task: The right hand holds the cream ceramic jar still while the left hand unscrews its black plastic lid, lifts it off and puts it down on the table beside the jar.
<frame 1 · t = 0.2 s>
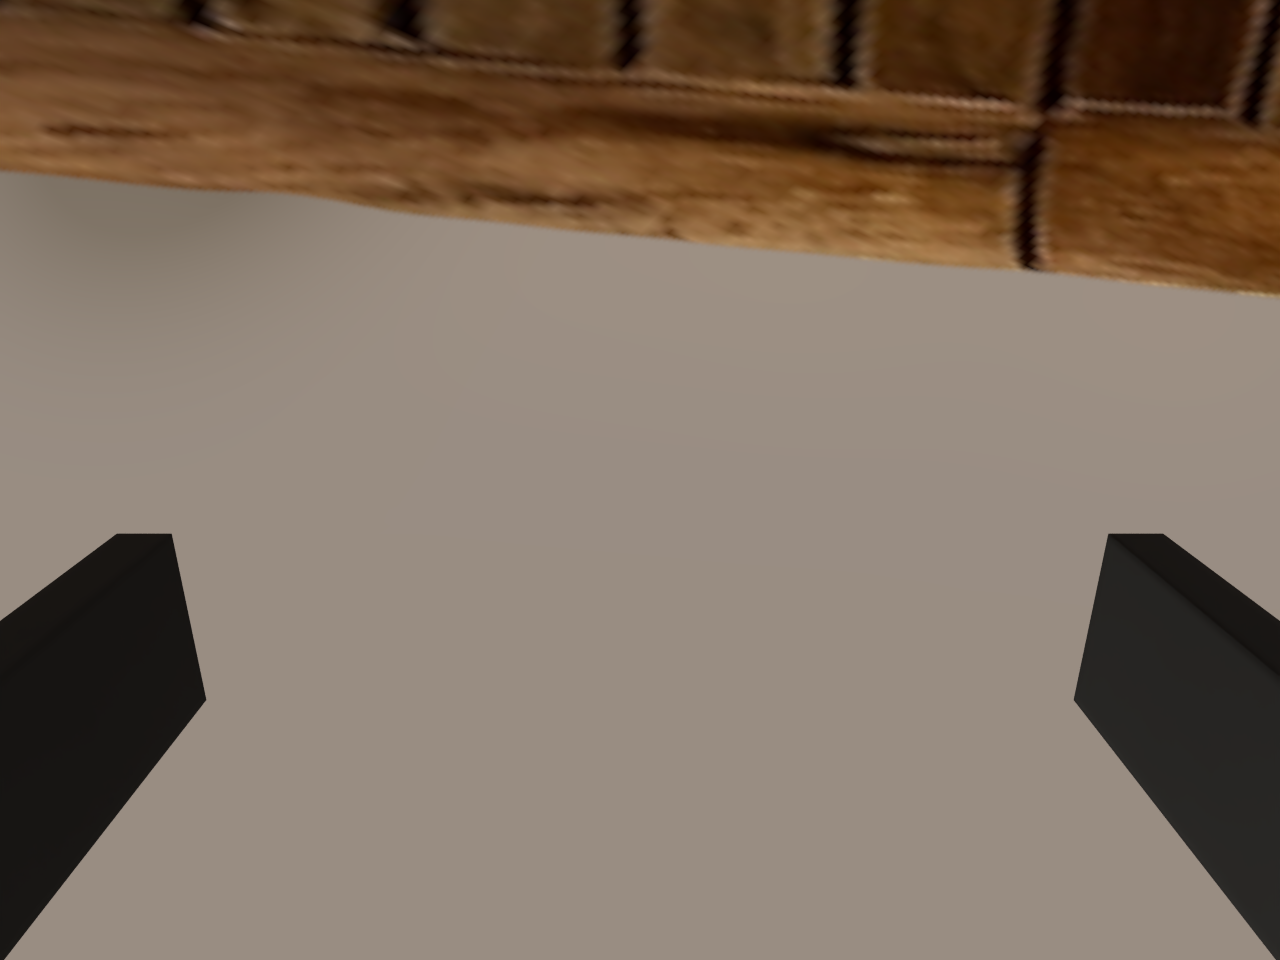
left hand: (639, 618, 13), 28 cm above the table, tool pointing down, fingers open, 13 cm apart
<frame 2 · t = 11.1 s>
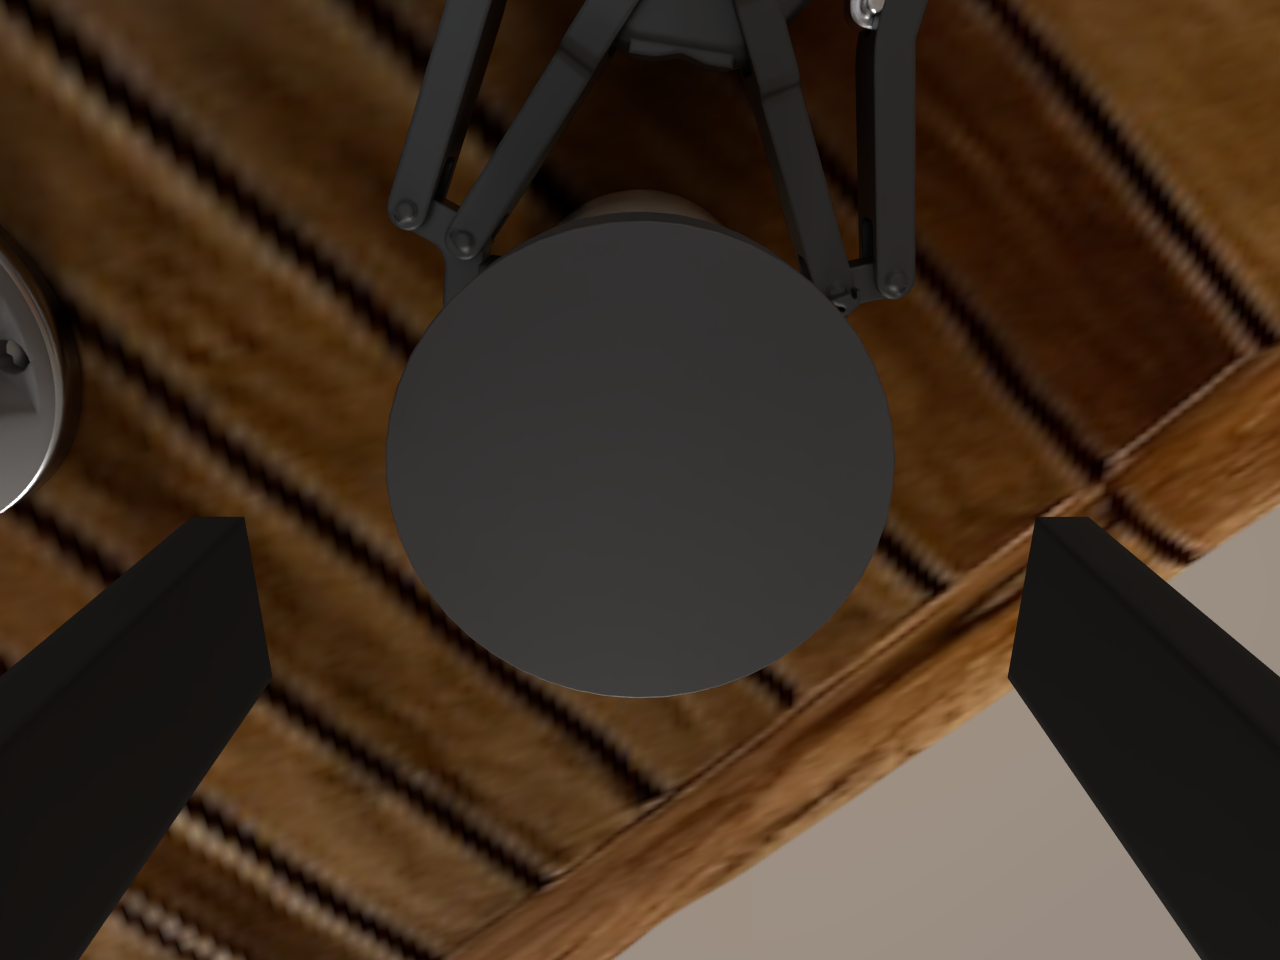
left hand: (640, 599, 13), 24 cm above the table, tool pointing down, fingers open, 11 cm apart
lid: (640, 478, 18), point 19 cm above the table, screwed on, not yet turned
jar: (639, 309, 36), on the table, touching right hand
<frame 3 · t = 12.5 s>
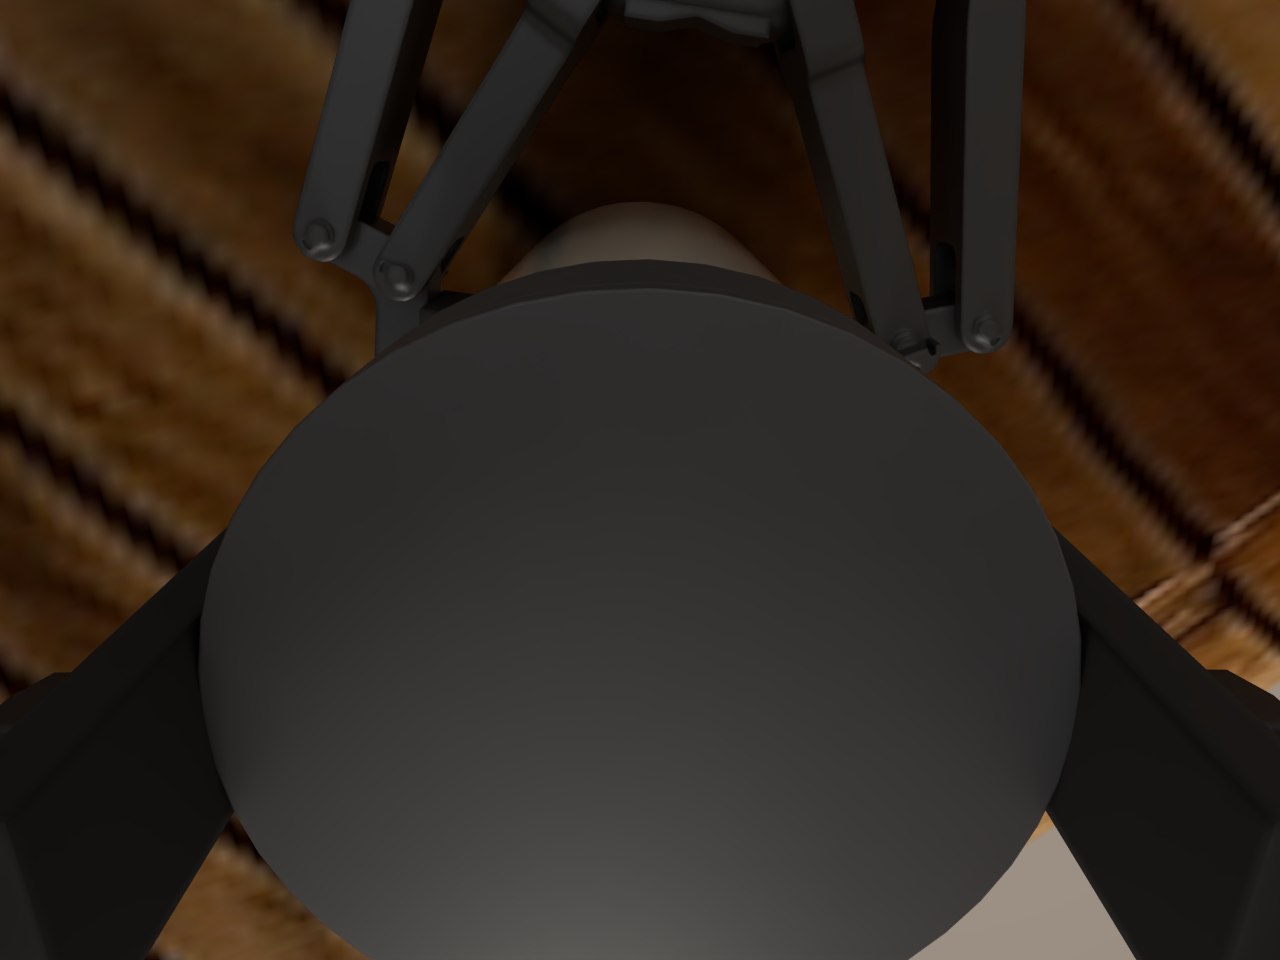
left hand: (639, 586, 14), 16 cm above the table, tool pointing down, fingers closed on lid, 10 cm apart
lid: (639, 711, 11), point 19 cm above the table, screwed on, not yet turned, touching left hand
jar: (639, 351, 29), on the table, touching right hand
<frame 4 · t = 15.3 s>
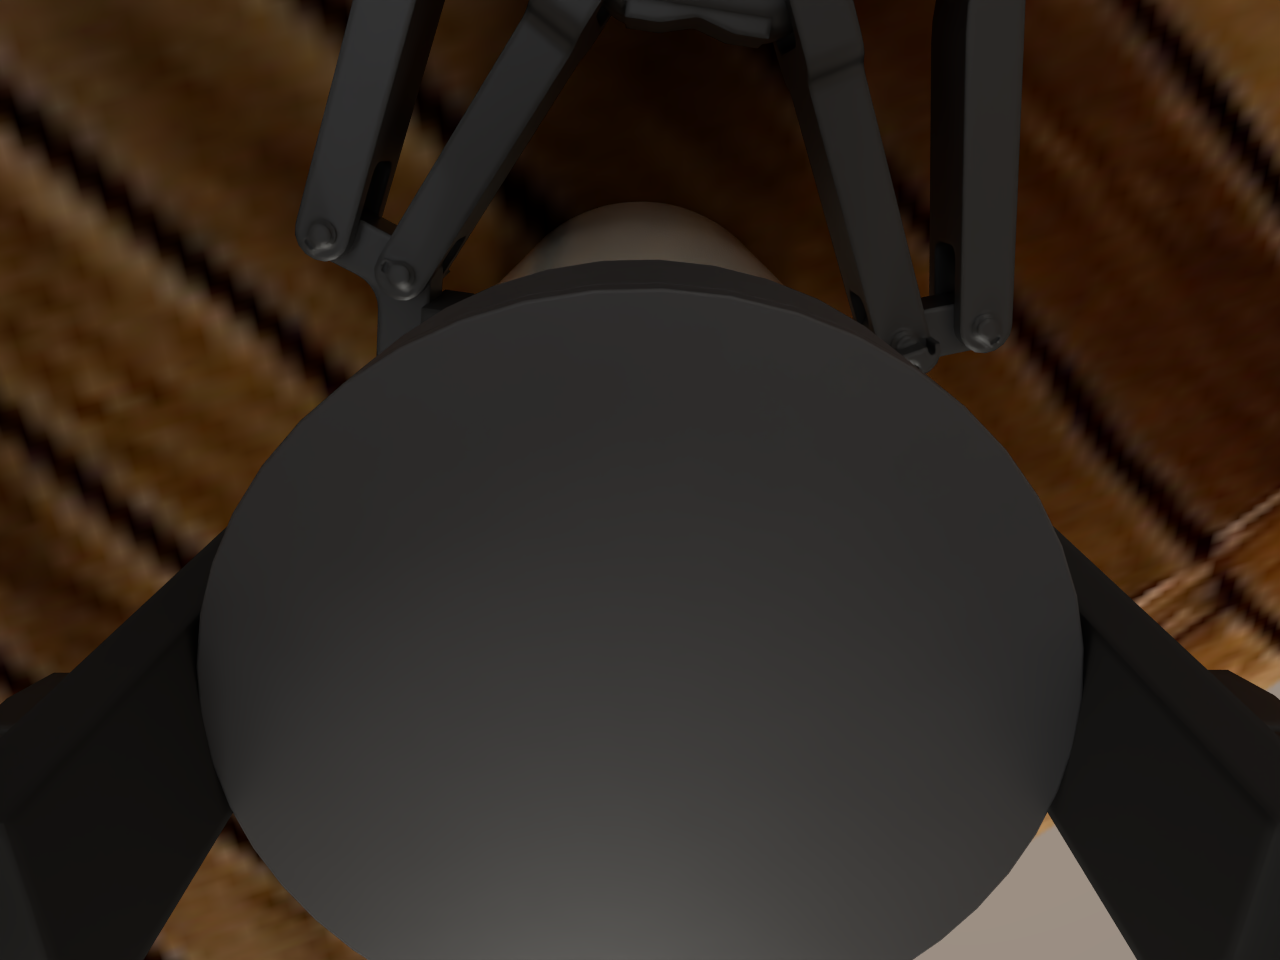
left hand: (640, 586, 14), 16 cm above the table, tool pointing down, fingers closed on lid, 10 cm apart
lid: (640, 712, 10), point 19 cm above the table, turned 59° so far, risen 0.1 cm, still on its thread, touching left hand
jar: (640, 351, 29), on the table, touching right hand
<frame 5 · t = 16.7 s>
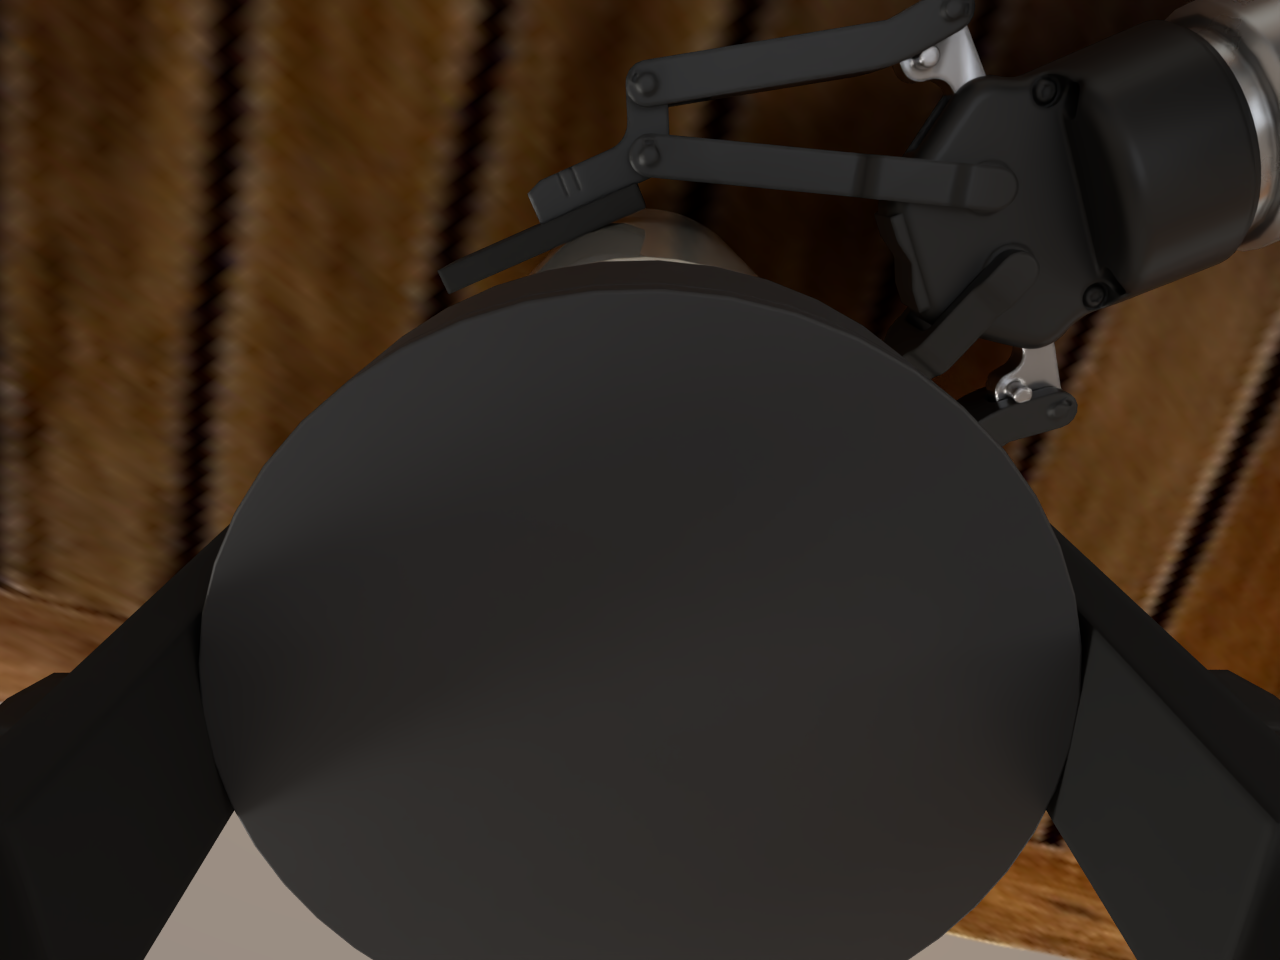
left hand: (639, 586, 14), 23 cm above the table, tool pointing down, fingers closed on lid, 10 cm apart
right hand: (520, 417, 30), fingers closed on jar, 9 cm apart
lid: (640, 711, 11), point 26 cm above the table, off its thread, touching left hand
jar: (642, 330, 35), on the table, touching right hand
when the left hand's fingers open (0 cm above the table, at t = 21.5 s): lid drops 2 cm, point 2 cm above the table.
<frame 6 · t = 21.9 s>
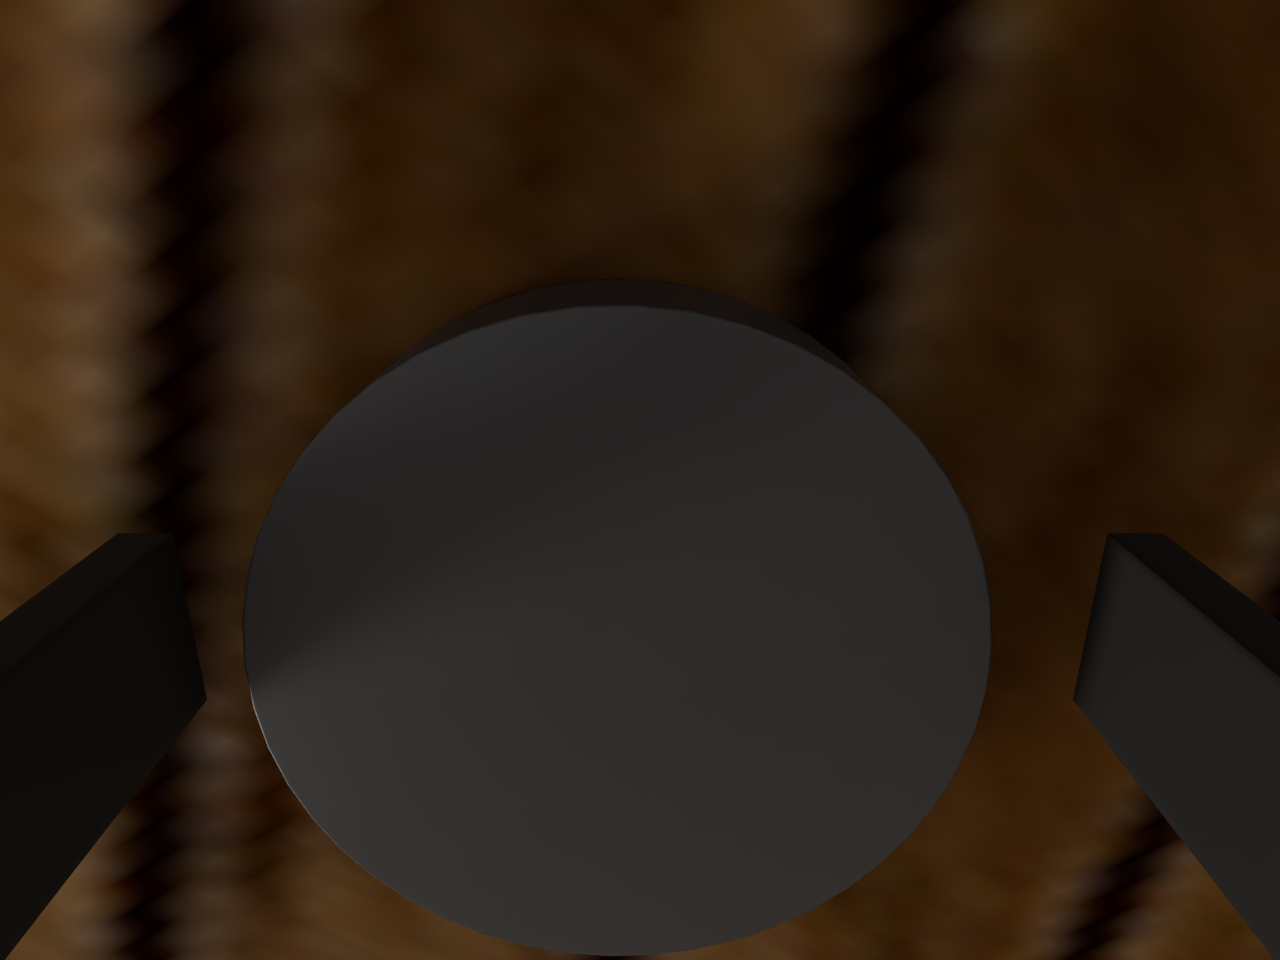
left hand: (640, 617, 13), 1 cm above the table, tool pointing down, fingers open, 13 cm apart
lid: (619, 664, 12), point 2 cm above the table, off its thread
when the right hand's fingers open (6 cm above the table, at t = 22.6 s): jar stays where it is, on the table.
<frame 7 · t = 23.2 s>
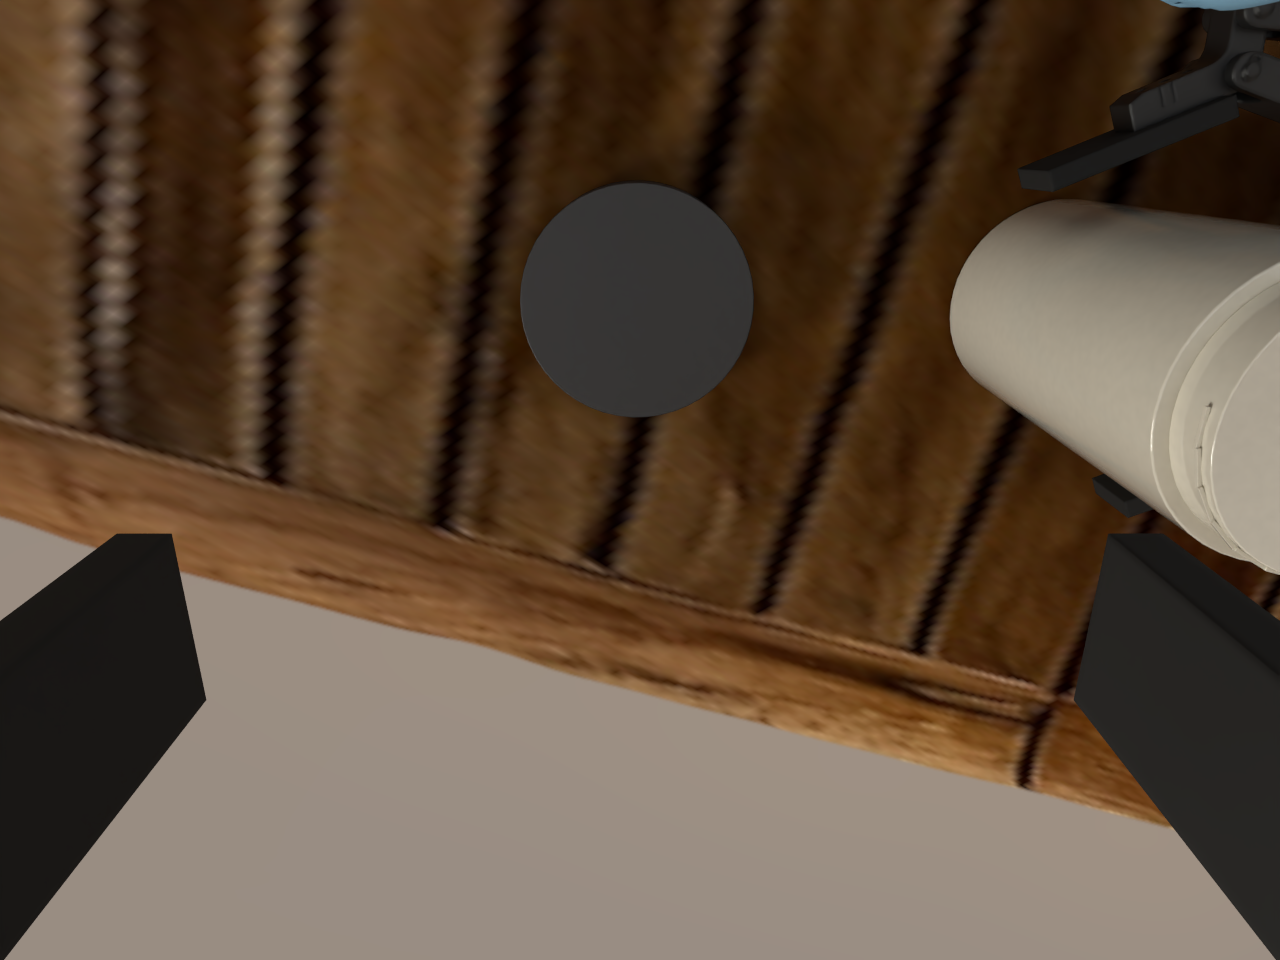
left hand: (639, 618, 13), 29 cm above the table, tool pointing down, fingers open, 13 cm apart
lid: (637, 304, 38), point 2 cm above the table, off its thread
jar: (1051, 305, 40), on the table
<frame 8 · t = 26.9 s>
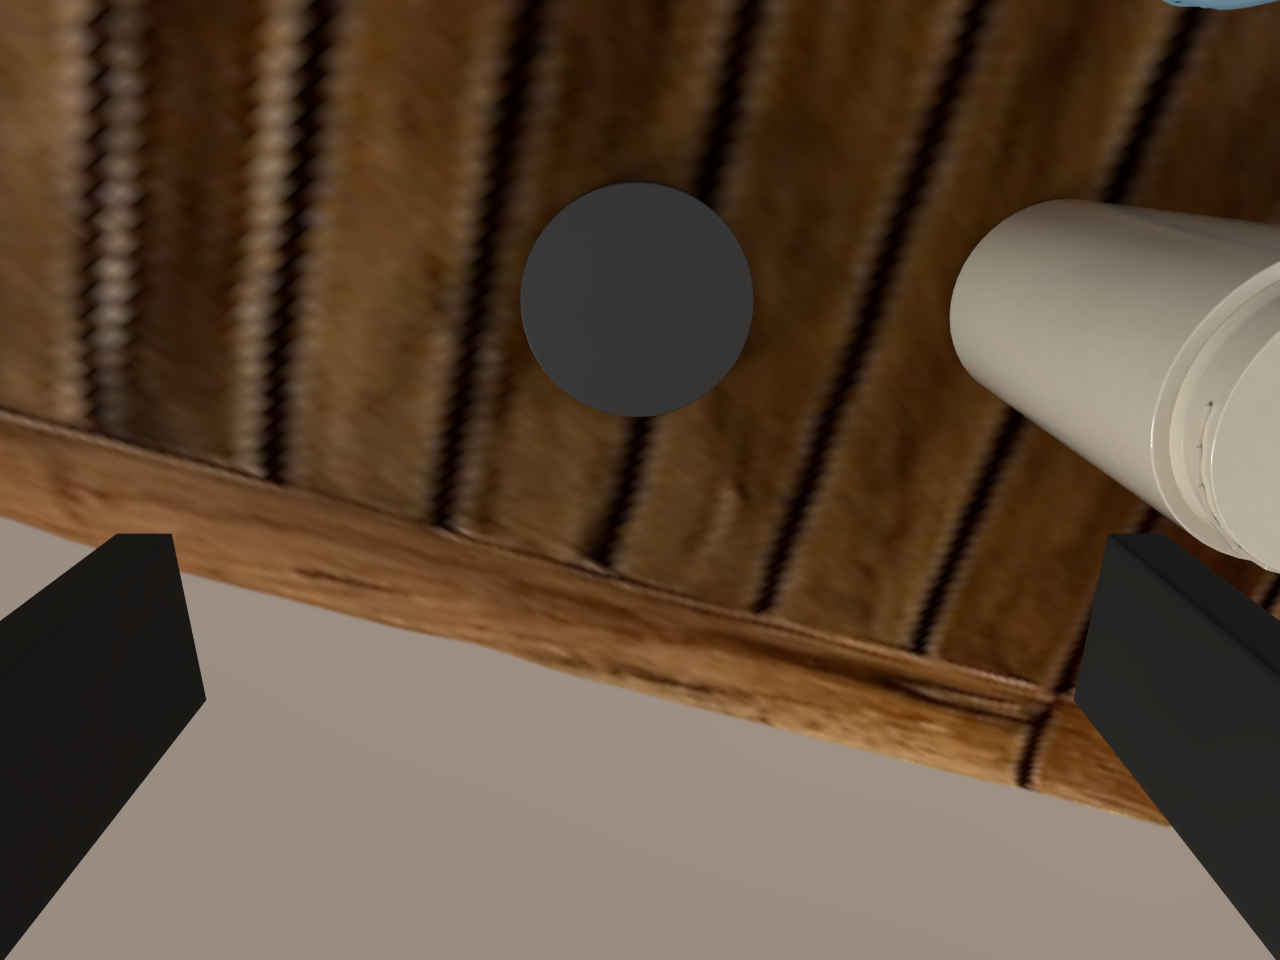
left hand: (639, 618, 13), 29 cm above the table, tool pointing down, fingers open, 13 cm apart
lid: (637, 303, 38), point 2 cm above the table, off its thread
jar: (1051, 304, 40), on the table
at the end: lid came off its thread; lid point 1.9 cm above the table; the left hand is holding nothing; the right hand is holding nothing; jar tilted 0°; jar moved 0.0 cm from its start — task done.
